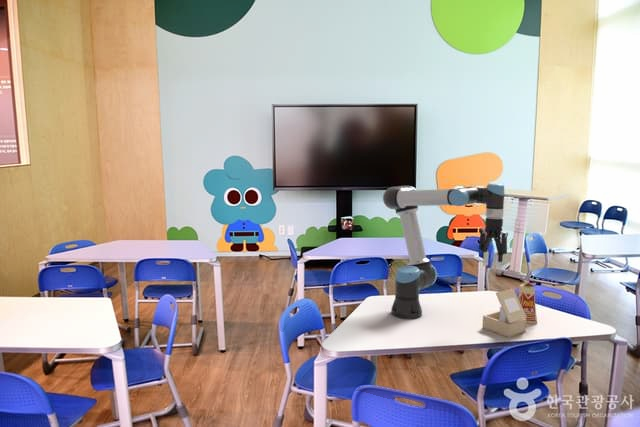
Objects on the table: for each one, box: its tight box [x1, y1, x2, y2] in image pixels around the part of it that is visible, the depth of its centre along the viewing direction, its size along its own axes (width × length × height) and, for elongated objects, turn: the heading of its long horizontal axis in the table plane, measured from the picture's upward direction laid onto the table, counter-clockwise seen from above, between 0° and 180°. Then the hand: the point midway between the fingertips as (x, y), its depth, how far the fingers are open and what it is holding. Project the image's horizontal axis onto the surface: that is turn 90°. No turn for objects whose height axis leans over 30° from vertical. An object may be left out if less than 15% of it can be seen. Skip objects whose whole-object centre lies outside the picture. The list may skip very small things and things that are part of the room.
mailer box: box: [481, 305, 527, 339], centre depth 221 cm, size 14×12×12 cm
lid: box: [495, 288, 527, 323], centre depth 217 cm, size 14×12×1 cm
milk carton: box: [516, 280, 538, 324], centre depth 235 cm, size 9×9×20 cm
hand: (491, 267), depth 224 cm, fingers open, 6 cm apart
